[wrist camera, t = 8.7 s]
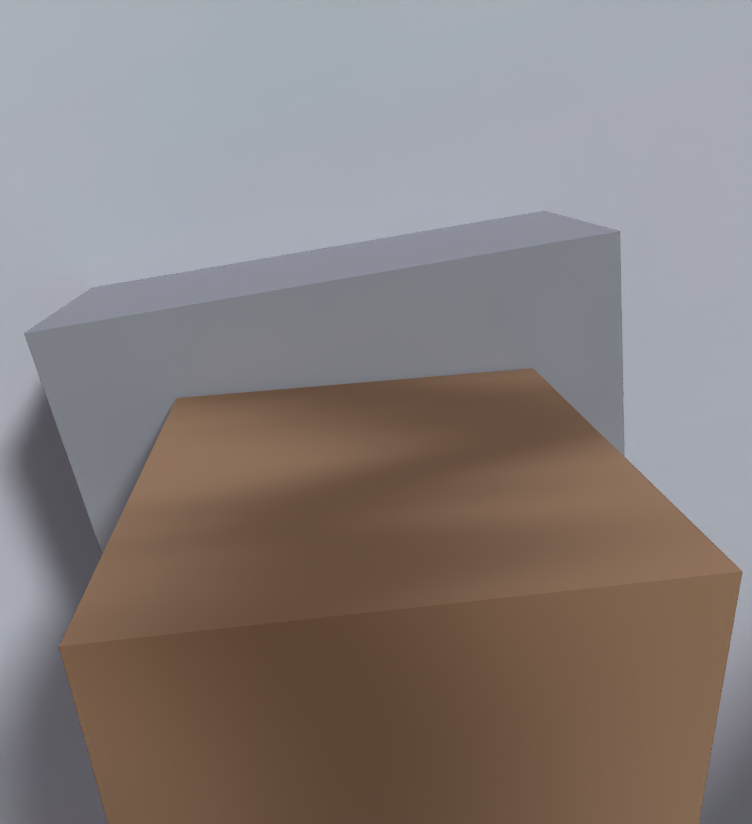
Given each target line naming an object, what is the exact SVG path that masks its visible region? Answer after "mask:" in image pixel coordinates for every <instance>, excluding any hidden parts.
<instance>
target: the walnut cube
mask: <svg viewBox="0 0 752 824" xmlns="http://www.w3.org/2000/svg"><path fill="white" fill-rule="evenodd" d="M741 577H742V571H741V570H740V569H739V568H738V567H737V566H736V565H735V564H734V563H733V562H732V561H731V560H730V559H729V558H728V557H727V556H726V555H725V554H724V553H723V552H722V551H721V550H720V549H719V548H718V547H717V546H716V545H715V544H714V543H713V542H712V541H710V540H709V539H708V538H707V537H706V536H705V535H704V534H703V533H702V532H701V531H700V530H699V529H698V528H697V527H696V526H695V525H694V524H693V523H692V522H691V521H690V520H689V519H688V518H687V517H686V516H685V515H684V514H683V513H682V512H681V511H680V510H679V509H678V508H677V507H675V506H674V505H673V504H672V503H671V502H670V501H669V500H668V499H667V498H666V497H665V496H664V495H663V494H662V493H661V492H660V491H659V490H658V489H657V488H656V487H655V486H654V485H653V484H652V483H651V482H650V481H649V480H648V479H647V478H646V477H645V476H644V475H643V474H642V473H641V472H639V471H638V470H637V469H636V468H635V467H634V466H633V465H632V464H631V463H630V462H629V461H628V460H627V459H626V458H625V457H624V456H623V455H622V454H621V453H620V452H619V451H618V450H617V449H616V448H615V447H614V446H613V445H612V444H611V443H610V442H609V441H608V440H607V439H606V438H604V437H603V436H602V435H601V434H600V433H599V432H598V431H597V430H596V429H595V428H594V427H593V426H592V425H591V424H590V423H589V422H588V421H587V420H586V419H585V418H584V417H583V416H582V415H581V414H580V413H579V412H578V411H577V410H576V409H575V408H574V407H573V406H572V405H571V404H570V403H568V402H567V401H566V400H565V399H564V398H563V397H562V396H561V395H560V394H559V393H558V392H557V391H556V390H555V389H554V388H553V387H552V386H551V385H550V384H549V383H548V382H547V381H546V380H545V379H544V378H543V377H542V376H541V375H540V374H539V373H538V372H537V371H536V370H535V369H533V368H530V369H518V370H506V371H494V372H482V373H470V374H458V375H446V376H434V377H422V378H410V379H398V380H386V381H374V382H362V383H350V384H338V385H326V386H315V387H303V388H291V389H279V390H267V391H255V392H243V393H231V394H219V395H207V396H195V397H183V398H176V400H175V402H174V404H173V406H172V408H171V411H170V413H169V415H168V417H167V419H166V421H165V423H164V425H163V427H162V430H161V432H160V434H159V436H158V438H157V440H156V442H155V444H154V446H153V449H152V451H151V453H150V455H149V457H148V459H147V461H146V463H145V465H144V468H143V470H142V472H141V474H140V476H139V478H138V480H137V482H136V484H135V487H134V489H133V491H132V493H131V495H130V497H129V499H128V501H127V503H126V506H125V508H124V510H123V512H122V514H121V516H120V518H119V520H118V522H117V525H116V527H115V529H114V531H113V533H112V535H111V537H110V539H109V541H108V544H107V546H106V548H105V550H104V552H103V554H102V556H101V558H100V560H99V563H98V565H97V567H96V569H95V571H94V573H93V575H92V577H91V579H90V582H89V584H88V586H87V588H86V590H85V592H84V594H83V596H82V598H81V601H80V603H79V605H78V607H77V609H76V611H75V613H74V615H73V617H72V620H71V622H70V624H69V626H68V628H67V630H66V632H65V634H64V636H63V639H62V641H61V643H60V645H59V649H60V653H61V657H62V660H63V664H64V667H65V671H66V674H67V678H68V682H69V685H70V689H71V692H72V696H73V700H74V703H75V707H76V710H77V714H78V718H79V721H80V725H81V728H82V732H83V736H84V739H85V743H86V746H87V750H88V754H89V757H90V761H91V764H92V768H93V772H94V775H95V779H96V782H97V786H98V790H99V793H100V797H101V800H102V804H103V808H104V811H105V815H106V818H107V822H108V824H699V820H700V814H701V808H702V802H703V796H704V791H705V785H706V779H707V773H708V767H709V762H710V756H711V750H712V744H713V739H714V733H715V727H716V721H717V715H718V710H719V704H720V698H721V692H722V686H723V681H724V675H725V669H726V663H727V658H728V652H729V646H730V640H731V634H732V629H733V623H734V617H735V611H736V606H737V600H738V594H739V588H740V582H741Z"/></svg>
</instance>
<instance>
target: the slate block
mask: <svg viewBox="0 0 752 824" xmlns="http://www.w3.org/2000/svg"><path fill="white" fill-rule="evenodd" d="M24 335H25V337H26V340H27V343H28V346H29V349H30V352H31V354H32V357H33V360H34V363H35V366H36V368H37V371H38V374H39V377H40V380H41V383H42V385H43V388H44V391H45V394H46V397H47V400H48V402H49V405H50V408H51V411H52V414H53V417H54V419H55V422H56V425H57V428H58V431H59V434H60V436H61V439H62V442H63V445H64V448H65V451H66V453H67V456H68V459H69V462H70V465H71V468H72V470H73V473H74V476H75V479H76V482H77V484H78V487H79V490H80V493H81V496H82V499H83V501H84V504H85V507H86V510H87V513H88V516H89V518H90V521H91V524H92V527H93V530H94V533H95V535H96V538H97V541H98V544H99V547H100V550H101V552H102V554H103V552H104V550H105V548H106V546H107V544H108V541H109V539H110V537H111V535H112V533H113V531H114V529H115V527H116V525H117V522H118V520H119V518H120V516H121V514H122V512H123V510H124V508H125V506H126V503H127V501H128V499H129V497H130V495H131V493H132V491H133V489H134V487H135V484H136V482H137V480H138V478H139V476H140V474H141V472H142V470H143V468H144V465H145V463H146V461H147V459H148V457H149V455H150V453H151V451H152V449H153V446H154V444H155V442H156V440H157V438H158V436H159V434H160V432H161V430H162V427H163V425H164V423H165V421H166V419H167V417H168V415H169V413H170V411H171V408H172V406H173V404H174V402H175V400H176V398H183V397H195V396H207V395H219V394H231V393H243V392H255V391H267V390H279V389H291V388H303V387H315V386H326V385H338V384H350V383H362V382H374V381H386V380H398V379H410V378H422V377H434V376H446V375H458V374H470V373H482V372H494V371H506V370H518V369H530V368H533V369H535V370H536V371H537V372H538V373H539V374H540V375H541V376H542V377H543V378H544V379H545V380H546V381H547V382H548V383H549V384H550V385H551V386H552V387H553V388H554V389H555V390H556V391H557V392H558V393H559V394H560V395H561V396H562V397H563V398H564V399H565V400H566V401H567V402H568V403H570V404H571V405H572V406H573V407H574V408H575V409H576V410H577V411H578V412H579V413H580V414H581V415H582V416H583V417H584V418H585V419H586V420H587V421H588V422H589V423H590V424H591V425H592V426H593V427H594V428H595V429H596V430H597V431H598V432H599V433H600V434H601V435H602V436H603V437H604V438H606V439H607V440H608V441H609V442H610V443H611V444H612V445H613V446H614V447H615V448H616V449H617V450H618V451H619V452H620V453H621V454H622V455H623V456H624V412H623V361H622V310H621V259H620V231H618V230H614V229H610V228H607V227H603V226H599V225H595V224H592V223H588V222H584V221H580V220H577V219H573V218H569V217H565V216H562V215H558V214H554V213H550V212H547V211H541V212H535V213H529V214H523V215H517V216H511V217H505V218H499V219H494V220H488V221H482V222H476V223H470V224H464V225H458V226H452V227H447V228H441V229H435V230H429V231H423V232H417V233H411V234H405V235H400V236H394V237H388V238H382V239H376V240H370V241H364V242H358V243H352V244H347V245H341V246H335V247H329V248H323V249H317V250H311V251H305V252H300V253H294V254H288V255H282V256H276V257H270V258H264V259H258V260H253V261H247V262H241V263H235V264H229V265H223V266H217V267H211V268H206V269H200V270H194V271H188V272H182V273H176V274H170V275H164V276H158V277H153V278H147V279H141V280H135V281H129V282H123V283H117V284H111V285H106V286H100V287H94V288H91V289H89V290H88V291H86V292H85V293H83V294H82V295H80V296H79V297H77V298H76V299H75V300H73V301H72V302H70V303H69V304H67V305H66V306H64V307H63V308H61V309H60V310H58V311H57V312H55V313H54V314H52V315H51V316H49V317H48V318H46V319H45V320H43V321H42V322H40V323H39V324H37V325H36V326H34V327H33V328H31V329H30V330H28V331H27V332H25V333H24Z"/></svg>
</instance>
